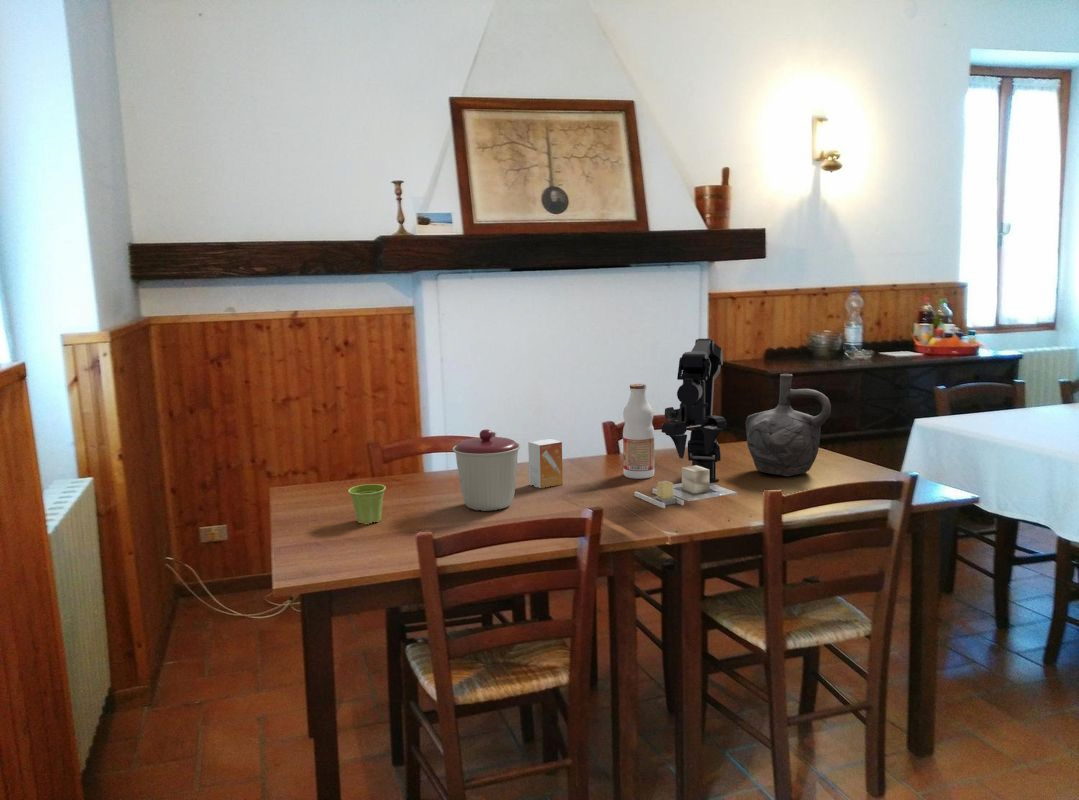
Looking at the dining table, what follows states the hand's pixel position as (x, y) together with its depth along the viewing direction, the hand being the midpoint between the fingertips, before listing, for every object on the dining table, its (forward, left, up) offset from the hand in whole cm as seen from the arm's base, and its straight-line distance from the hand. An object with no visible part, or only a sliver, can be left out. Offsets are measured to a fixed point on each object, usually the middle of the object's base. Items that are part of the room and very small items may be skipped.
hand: (694, 456), depth 225 cm
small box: (+30, -32, -12) cm, 45 cm away
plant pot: (+85, -23, -12) cm, 89 cm away
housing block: (-1, -1, -10) cm, 10 cm away
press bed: (-1, -1, -11) cm, 11 cm away
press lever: (+13, +5, -10) cm, 17 cm away
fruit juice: (+1, -27, -11) cm, 30 cm away
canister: (+53, -20, -12) cm, 58 cm away
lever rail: (+13, +2, -11) cm, 17 cm away
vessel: (-37, -6, -12) cm, 39 cm away
